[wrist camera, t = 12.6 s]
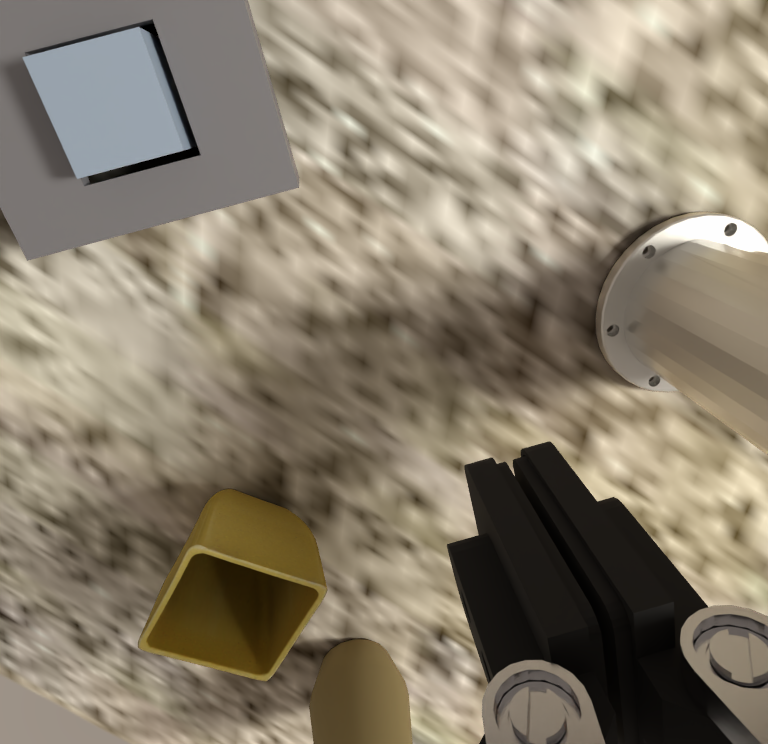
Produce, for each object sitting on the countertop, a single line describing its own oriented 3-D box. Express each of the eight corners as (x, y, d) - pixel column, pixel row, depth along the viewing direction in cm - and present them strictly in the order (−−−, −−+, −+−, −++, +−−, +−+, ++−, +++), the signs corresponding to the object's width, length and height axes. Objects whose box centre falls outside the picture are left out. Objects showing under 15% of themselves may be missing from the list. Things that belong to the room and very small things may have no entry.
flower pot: (273, 583, 46) (268, 685, 37) (165, 549, 43) (133, 651, 35) (325, 499, 43) (330, 589, 35) (213, 457, 40) (190, 543, 32)
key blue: (163, 40, 29) (138, 26, 24) (200, 145, 31) (183, 150, 26) (66, 66, 29) (22, 57, 24) (109, 169, 31) (77, 178, 26)
